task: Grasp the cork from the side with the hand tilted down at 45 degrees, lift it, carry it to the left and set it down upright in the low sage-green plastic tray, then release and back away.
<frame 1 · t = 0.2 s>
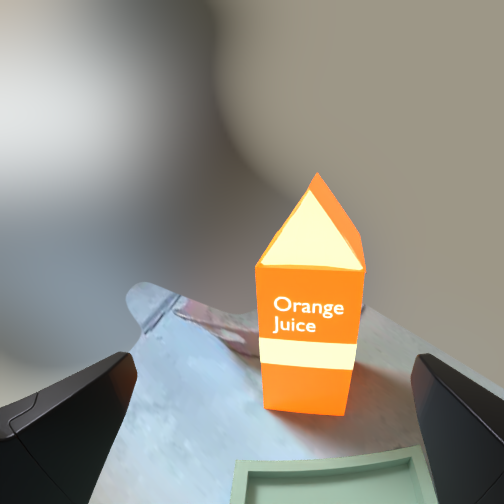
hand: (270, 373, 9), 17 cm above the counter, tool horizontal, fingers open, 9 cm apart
orange juice: (309, 383, 30), on the counter
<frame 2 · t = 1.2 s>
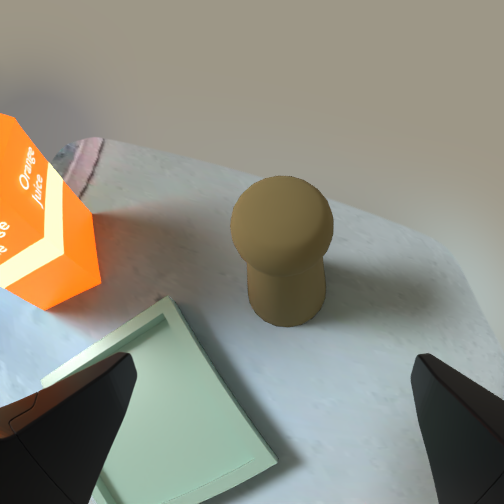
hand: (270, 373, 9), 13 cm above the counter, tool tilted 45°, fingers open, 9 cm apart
tray: (145, 423, 20), on the counter
cork: (286, 289, 24), on the counter
orange juice: (68, 261, 28), on the counter
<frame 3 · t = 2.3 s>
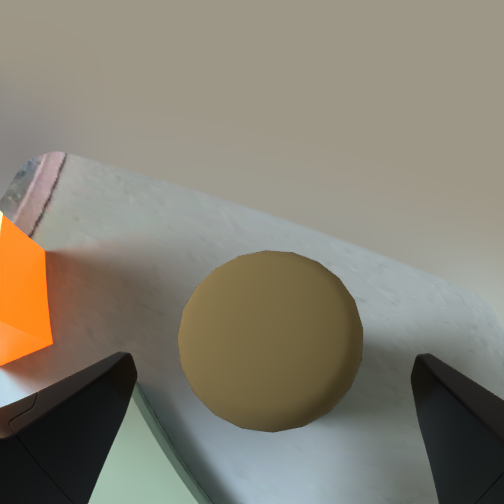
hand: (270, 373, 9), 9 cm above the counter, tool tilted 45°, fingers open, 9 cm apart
cork: (281, 372, 17), on the counter
orange juice: (20, 309, 21), on the counter
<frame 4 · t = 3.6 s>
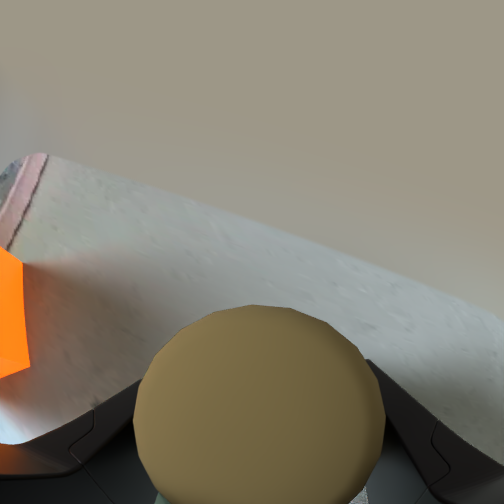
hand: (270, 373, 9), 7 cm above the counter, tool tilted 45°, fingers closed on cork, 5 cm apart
cork: (278, 410, 14), on the counter, touching gripper
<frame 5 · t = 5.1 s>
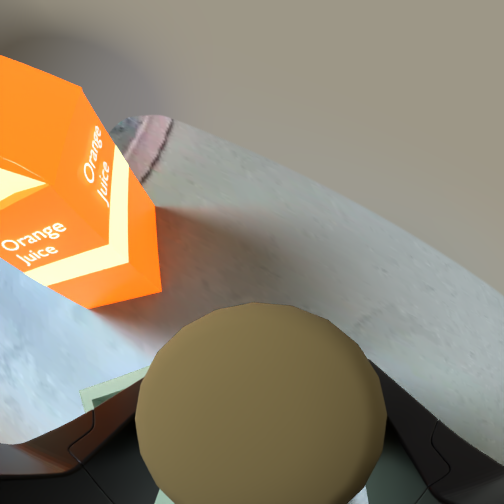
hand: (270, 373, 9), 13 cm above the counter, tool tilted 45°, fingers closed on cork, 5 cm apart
tray: (198, 453, 19), on the counter
cork: (280, 409, 14), point 6 cm above the counter, touching gripper
orange juice: (121, 256, 27), on the counter
when the fingers open (8 cm above the counter, at t = 7.0 s): cork stays where it is, resting on tray.
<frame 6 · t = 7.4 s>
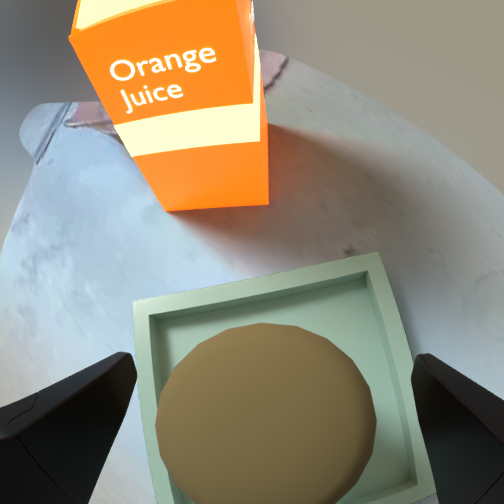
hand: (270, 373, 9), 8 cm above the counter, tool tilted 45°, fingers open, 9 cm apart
tray: (280, 409, 15), on the counter
cork: (280, 412, 15), resting on tray
orange juice: (220, 163, 24), on the counter
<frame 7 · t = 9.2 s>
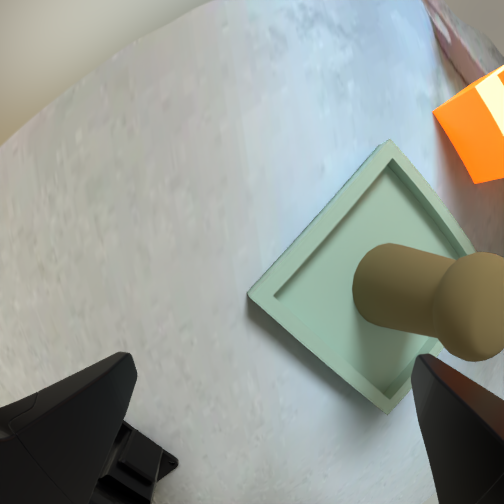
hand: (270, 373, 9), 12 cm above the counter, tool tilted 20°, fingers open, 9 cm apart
tray: (386, 282, 22), on the counter
cork: (387, 284, 21), resting on tray
orange juice: (474, 130, 23), on the counter
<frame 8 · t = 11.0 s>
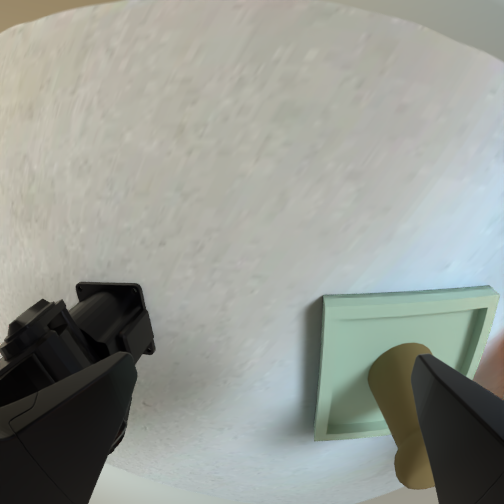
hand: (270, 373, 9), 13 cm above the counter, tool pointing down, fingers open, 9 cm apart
tray: (401, 367, 23), on the counter
cork: (401, 370, 23), resting on tray
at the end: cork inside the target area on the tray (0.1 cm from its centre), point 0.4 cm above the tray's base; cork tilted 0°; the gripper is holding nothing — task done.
